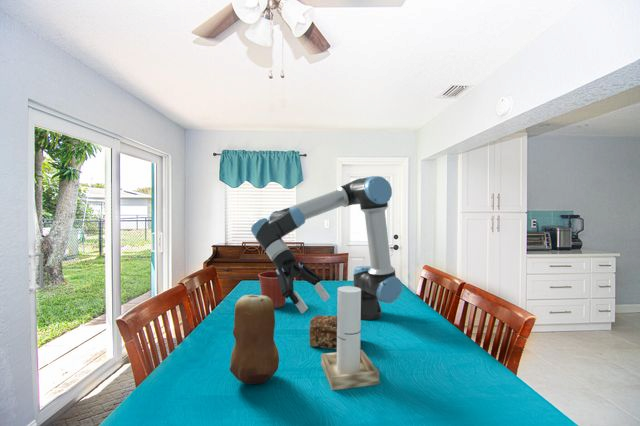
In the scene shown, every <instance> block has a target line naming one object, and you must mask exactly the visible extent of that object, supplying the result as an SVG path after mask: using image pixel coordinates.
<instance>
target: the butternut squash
mask: <svg viewBox="0 0 640 426" xmlns="http://www.w3.org/2000/svg"><path fill="white" fill-rule="evenodd" d="M233 325H234V326H233V329H232V335H233V337H234V345H233V349H232V352H231V356H230V366H229V371H230V373H231V374H232V375H233V376H234V378H235V379H236V380H238V381H239V382H241V383H243V384H244V385H245V384H246V385H248V384H250V385H252V384H253V385H261V384H264V383H265V382H266V381H268V380H269V379H270V378H271V377H273V376H274V375H275V374H276V372H277V371H278V369H279V366H280V365H279V364H280V354H279V350H278V347H277V345H276V343H275V338H274V337H275V328H276V315H275V308H274V305H273V302H272V300H271V299H270V298H269V297H267V296H263V295H261V294H260V295H259V294H257V295H256V294H252V293H251V294H244V295H243V296H241V297H240V298H239V299H237V301H236V303H235V306H234V320H233Z"/></svg>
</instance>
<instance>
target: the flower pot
mask: <svg viewBox="0 0 640 426" xmlns="http://www.w3.org/2000/svg"><path fill="white" fill-rule="evenodd" d="M275 271H276V270H275ZM275 271H274V270H273V271H272V270H271V271H263V272H260V273H258V275H257V277H258V278H259V279H258V280H259V284H260V295H263V296H267V297H269V298H270V299H271V300H272V302H273V305H274V309H279V308H282V307H285V305H286V301H287V298H286V297H285V296H282V294H281V290H280V286H279V282H278V278H277V276H276V274H275Z"/></svg>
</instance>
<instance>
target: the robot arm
mask: <svg viewBox="0 0 640 426" xmlns="http://www.w3.org/2000/svg"><path fill="white" fill-rule="evenodd" d="M392 195H393V190H392V186H391V183H390V182H389V181H388V180H387V179H386V178H385V177H382V176H379V175H376V176H375V175H372V176H369V177H363V178H357V179H355V180H353V181H350V182H348V183H346V184H343V185H341V186H338V187H337V188H336V190H334V191H331V192H328V193H326V194H323V195H319V196H317V197H313V198H311V199H308V200H306V201H303V202H300V203H298V204H294V205H292V206H289V207H286V208H284V209H281V210H275V211H272V212H271V213H270V214H269V215H268V218H266V217H263V218H259V219H258V220H256V221H255V222H253V224H252V226H251V227H250V228H251V229H250V231H251V233H252V234H253V237H254V239H256V241H257V242H258V244H259V245H260V247H261V248H262V249H263V251H264V252H265V253H266V255H267V256H268V257H269V260H271V262H272V264H273V265H274V266H275V268H276V269H275V274H276V276H277V278H278V282H279V286H280V290H281V294H282V296H285V297H286V299H288V298H289V299H290V300H291V302H292V303H293V304H294V305H295V306H296V307H297V309H298V310H299V312H300V314H304V313H305V312H306V311H307V310H308V309H309V307H308V306H307V304H306V303H305V301H304V300H303V298H302V297H301V295H299V293H298V292H297V291H296V290H295V291H294V278H299V279H302V280H304V281H306V282H307V283H309V284H310V285H312V286H313V289H314V290H315V291H316V293H317V294H318V295H319V297H320V299H322V301H323V302H324V303H325V302H326V301H328V299H330V298H331V295H330V294H329V293H328V292H327V290H326V289H325V288H324V286H323V285H322V284H321V281H322V277H321V276H320V275H319V274H317V273H315V272H314V270H312V269H311V268H310V267H308V266H307V265H306V264H305V263H304V262H303V261H301V260H300V262H299V263H297V262H296V255H295V254H294V253H293V252H292V250H291V249H290V248H289V246H288V244H287V243H286V242H285V241H284V240H283V238H284V237H285V236H287V235H289V234H290V233H292V232H293V231H296V230H297V229H298V228H300V227H301V226H303V225H304V224H306V220H308V219H311V218H312V219H313V218H314V217H317V216H319V215H321V214H324V213H327V212H330V211H332V210H333V211H334V209H337V208H342V207H344V208H346V207H349V206H353V205H360V206H359V207H360V211H361V212H363V213H364V219H365V226H366V228H365V229H366V234H367V235H366V236H367V237H366V238H367V245H368V255H369V262H370V263H369V264H370V265H362V266H356V267H354V269H353V275H352V276H353V286H354V287H358V288H360V289H361V320H365V321H366V320H367V321H371V320H378V319H380V318H382V313H383V312H382V308H381V305H380V302H381V303H385V304H391V303H394V302H396V300H398V299H399V297H400V296H401V294H402V291H403V283H402V281H401V280H400V278H398V277H397V274H396V269H395V268H394V267H393V266H392V263H391V256H390V254H391V253H390V245H389V236H388V228H387V226H388V225H387V219H386V218H387V217H386V210H387V209H388V208H389V203H388V202H389V201H390V200H391V198H392Z"/></svg>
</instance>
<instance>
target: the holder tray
mask: <svg viewBox="0 0 640 426" xmlns="http://www.w3.org/2000/svg"><path fill="white" fill-rule="evenodd" d="M320 360H321V361H320V366H321V367H322V369H323V372H324V374H325V377H326V379H327V381H328V383H329V387H330V388H331V391H336V390H337V391H338V390H344V389H345V390H346V389H352V388H353V389H354V388H361V387H367V386H374V385H375V386H376V385H380V371H379V370H378V369H377V367H376V366H375V364H373V363H374V362H373V361H371V359H370V357H368V355H367V354H366V353H365V352H364V350H363V349H360V372H359V373H351V374H342V375H340V374H339V373H338V372H337V351H335V352H327V353H321V354H320Z"/></svg>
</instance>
